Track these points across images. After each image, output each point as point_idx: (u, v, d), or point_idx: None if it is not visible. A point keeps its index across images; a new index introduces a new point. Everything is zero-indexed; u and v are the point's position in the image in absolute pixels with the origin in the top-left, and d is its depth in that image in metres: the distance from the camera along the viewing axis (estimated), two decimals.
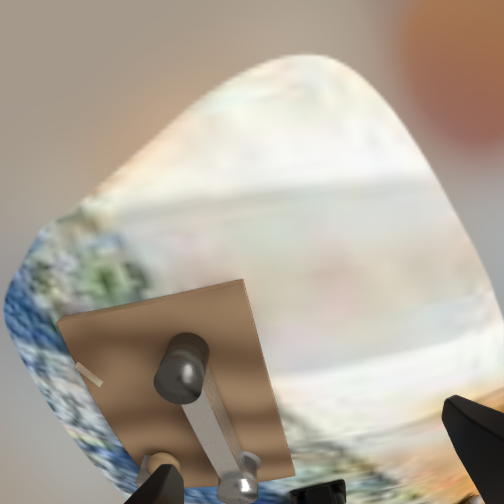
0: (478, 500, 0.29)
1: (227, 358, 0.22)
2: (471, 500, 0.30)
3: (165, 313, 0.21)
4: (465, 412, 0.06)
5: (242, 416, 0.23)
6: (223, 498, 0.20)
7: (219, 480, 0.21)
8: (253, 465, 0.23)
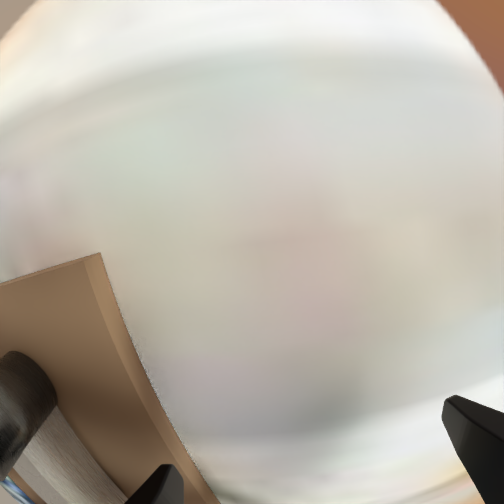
0: None
1: (89, 407, 0.10)
2: None
3: None
4: (465, 412, 0.06)
5: None
6: None
7: None
8: None
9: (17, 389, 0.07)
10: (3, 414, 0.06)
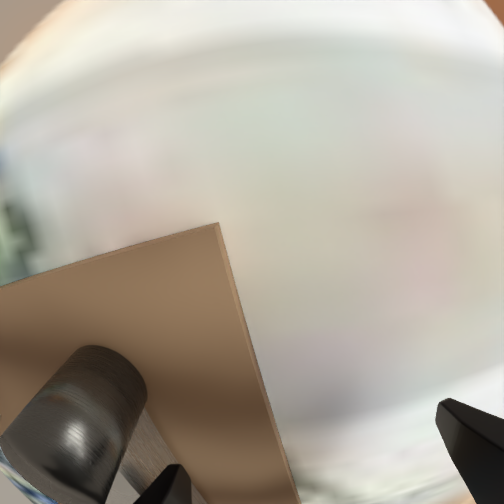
0: None
1: (188, 403, 0.09)
2: None
3: (55, 300, 0.09)
4: (458, 416, 0.06)
5: (228, 493, 0.11)
6: None
7: None
8: None
9: (110, 391, 0.07)
10: (100, 426, 0.06)
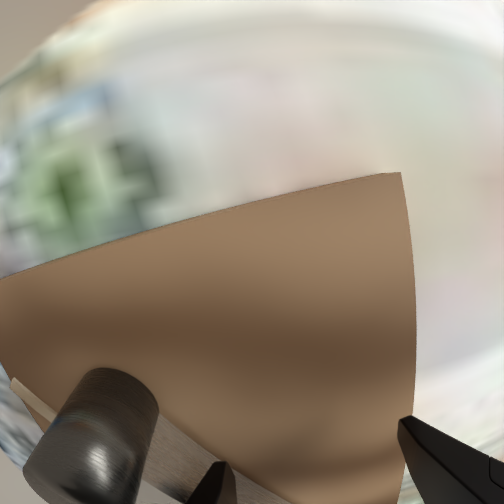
0: None
1: (351, 356, 0.09)
2: None
3: (210, 250, 0.08)
4: (416, 436, 0.06)
5: (350, 462, 0.11)
6: None
7: None
8: None
9: (109, 403, 0.07)
10: (102, 436, 0.06)
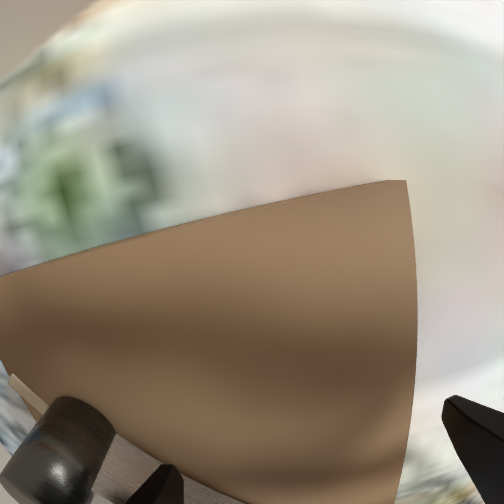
0: None
1: (349, 367, 0.09)
2: None
3: (208, 256, 0.08)
4: (465, 412, 0.06)
5: (345, 470, 0.10)
6: None
7: None
8: None
9: (61, 427, 0.07)
10: (52, 454, 0.06)
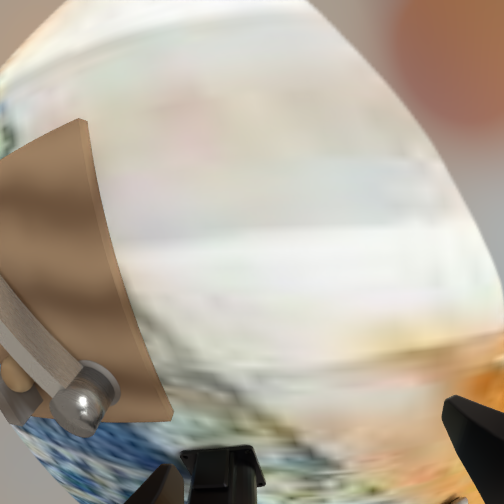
0: None
1: (61, 210, 0.17)
2: None
3: (16, 162, 0.16)
4: (465, 412, 0.06)
5: (82, 300, 0.18)
6: (65, 425, 0.15)
7: None
8: (91, 375, 0.18)
9: None
10: None
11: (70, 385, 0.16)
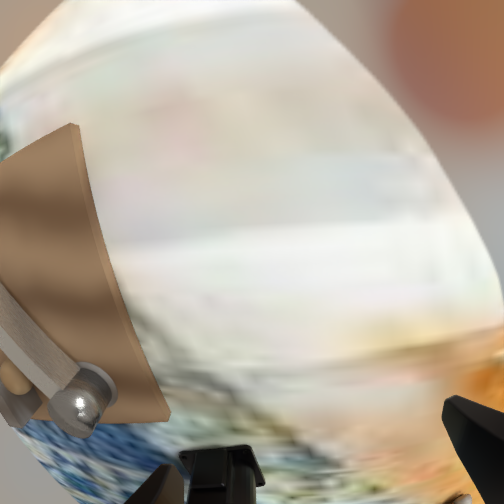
0: (467, 501, 0.24)
1: (55, 214, 0.17)
2: (458, 501, 0.25)
3: (11, 168, 0.16)
4: (465, 412, 0.06)
5: (78, 302, 0.18)
6: (63, 427, 0.15)
7: None
8: (88, 376, 0.18)
9: None
10: None
11: (67, 386, 0.16)
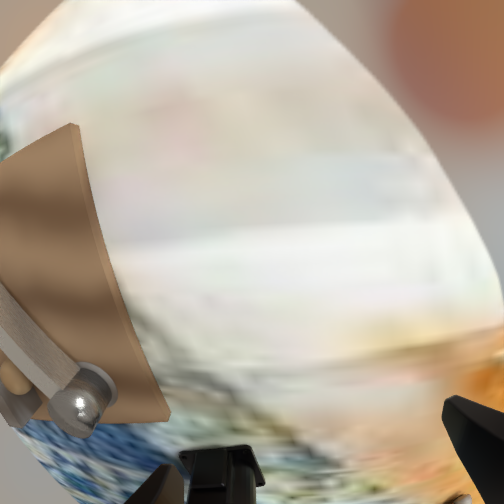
0: (466, 501, 0.24)
1: (55, 214, 0.17)
2: (458, 501, 0.25)
3: (11, 168, 0.16)
4: (465, 412, 0.06)
5: (78, 302, 0.18)
6: (63, 427, 0.15)
7: None
8: (88, 376, 0.18)
9: None
10: None
11: (67, 386, 0.16)
